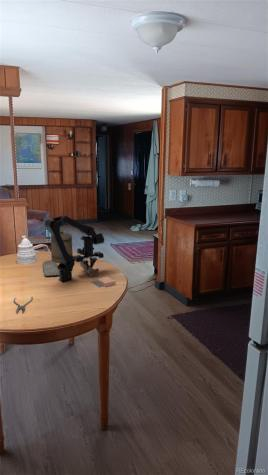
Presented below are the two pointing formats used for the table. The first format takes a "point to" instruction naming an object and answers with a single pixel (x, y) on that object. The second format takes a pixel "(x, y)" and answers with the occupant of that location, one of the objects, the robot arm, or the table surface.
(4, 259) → the table surface
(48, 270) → the stone slab
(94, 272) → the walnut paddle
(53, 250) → the wooden container
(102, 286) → the charcoal mat
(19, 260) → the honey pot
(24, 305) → the pliers
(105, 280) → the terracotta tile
